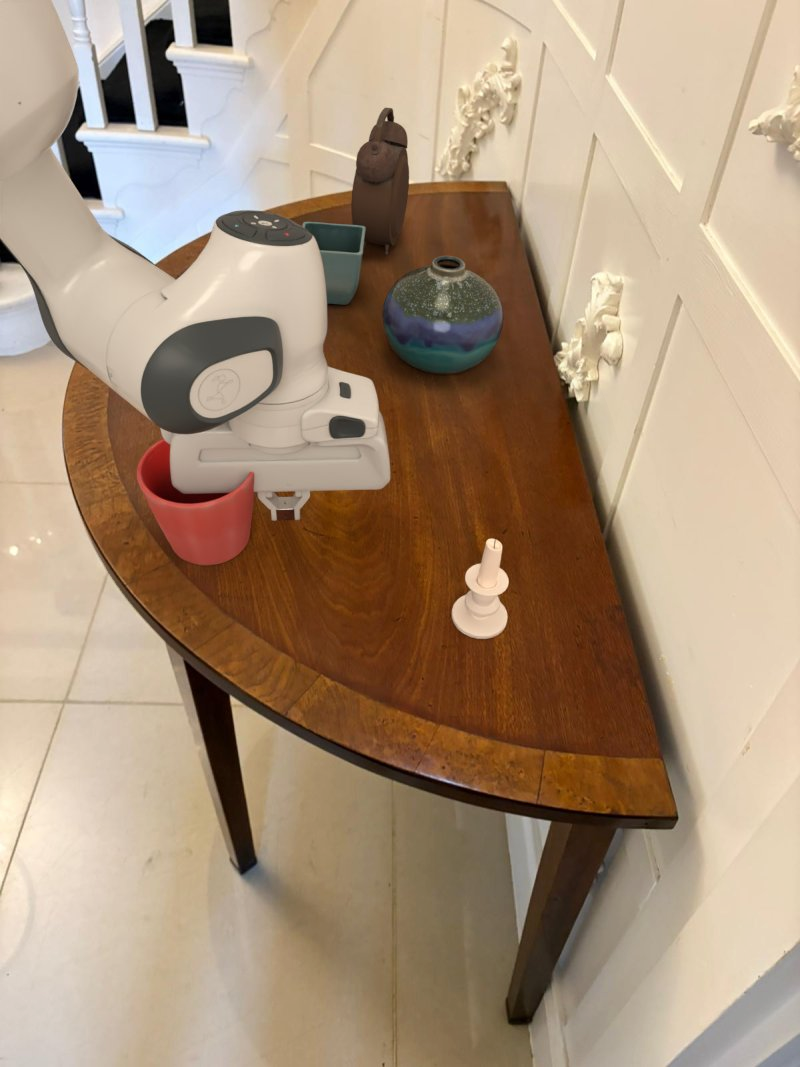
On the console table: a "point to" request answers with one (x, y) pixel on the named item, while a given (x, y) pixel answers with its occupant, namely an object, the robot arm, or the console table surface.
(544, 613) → the console table surface
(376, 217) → the brown flask
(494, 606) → the candle
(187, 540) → the flower pot
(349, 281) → the flower pot
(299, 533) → the console table surface
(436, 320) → the vase
